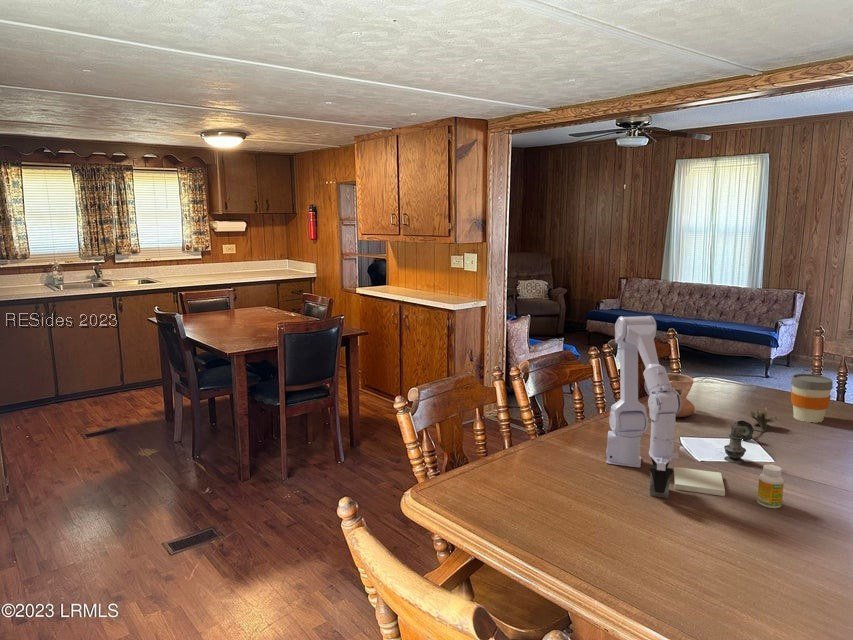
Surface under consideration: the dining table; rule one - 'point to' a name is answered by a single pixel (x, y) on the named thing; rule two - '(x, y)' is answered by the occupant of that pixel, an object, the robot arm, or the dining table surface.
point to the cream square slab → (699, 481)
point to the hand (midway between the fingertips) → (659, 485)
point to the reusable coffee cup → (810, 396)
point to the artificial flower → (747, 427)
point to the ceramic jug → (682, 392)
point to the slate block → (653, 493)
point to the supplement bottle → (770, 487)
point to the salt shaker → (735, 445)
